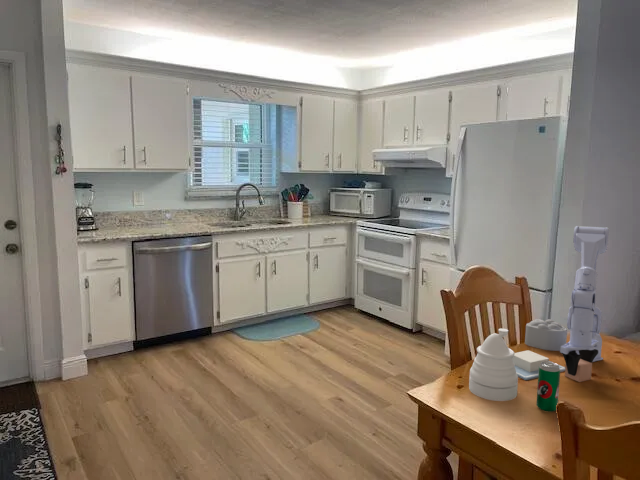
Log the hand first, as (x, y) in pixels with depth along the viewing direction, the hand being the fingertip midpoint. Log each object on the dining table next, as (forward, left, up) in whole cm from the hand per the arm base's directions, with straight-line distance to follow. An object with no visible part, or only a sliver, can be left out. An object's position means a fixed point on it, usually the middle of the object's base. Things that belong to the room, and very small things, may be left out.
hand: (578, 372), depth 147 cm
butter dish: (+7, -12, -1) cm, 14 cm away
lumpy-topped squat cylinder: (-15, -24, -2) cm, 28 cm away
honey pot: (+30, -4, -2) cm, 30 cm away
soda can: (+25, +10, -2) cm, 27 cm away
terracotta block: (0, 0, -1) cm, 1 cm away
